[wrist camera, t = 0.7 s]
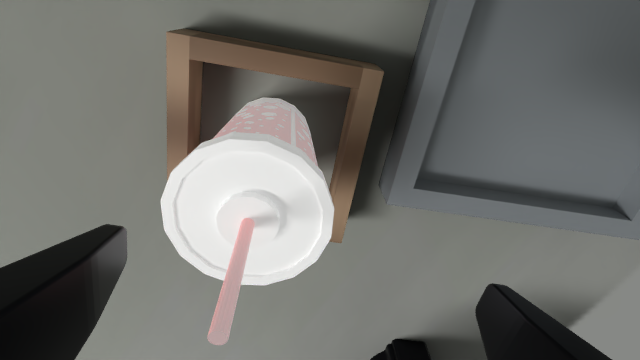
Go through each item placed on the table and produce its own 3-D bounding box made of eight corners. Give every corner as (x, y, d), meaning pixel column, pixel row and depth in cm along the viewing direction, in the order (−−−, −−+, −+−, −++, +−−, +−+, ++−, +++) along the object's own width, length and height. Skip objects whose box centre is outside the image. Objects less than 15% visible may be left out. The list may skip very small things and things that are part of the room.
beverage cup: (197, 145, 21) (33, 359, 8) (256, 59, 19) (158, 168, 6) (282, 200, 23) (255, 444, 10) (344, 127, 21) (405, 317, 8)
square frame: (337, 220, 23) (341, 243, 21) (181, 199, 22) (167, 221, 20) (375, 63, 19) (384, 71, 17) (183, 28, 18) (166, 31, 16)
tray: (607, 218, 24) (638, 239, 22) (378, 184, 22) (386, 204, 20) (779, -60, 17) (850, -70, 15) (469, -141, 16) (497, -165, 13)
